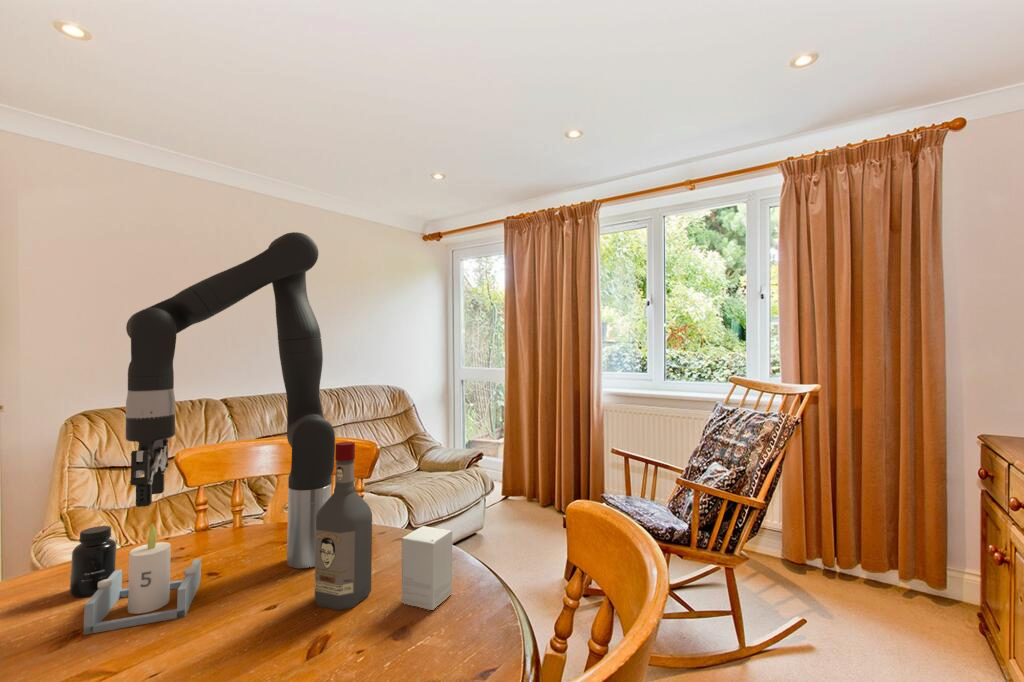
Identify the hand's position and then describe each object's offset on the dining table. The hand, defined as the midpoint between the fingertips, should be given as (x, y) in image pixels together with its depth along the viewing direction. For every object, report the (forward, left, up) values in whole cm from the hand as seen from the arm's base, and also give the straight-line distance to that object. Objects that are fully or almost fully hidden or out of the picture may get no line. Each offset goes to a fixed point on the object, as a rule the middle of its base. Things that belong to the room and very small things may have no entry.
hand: (150, 499), depth 91 cm
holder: (0, 0, -20) cm, 20 cm away
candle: (0, -1, -20) cm, 20 cm away
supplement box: (-49, +18, -20) cm, 56 cm away
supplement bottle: (+12, -12, -20) cm, 26 cm away
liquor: (-34, +11, -20) cm, 41 cm away
